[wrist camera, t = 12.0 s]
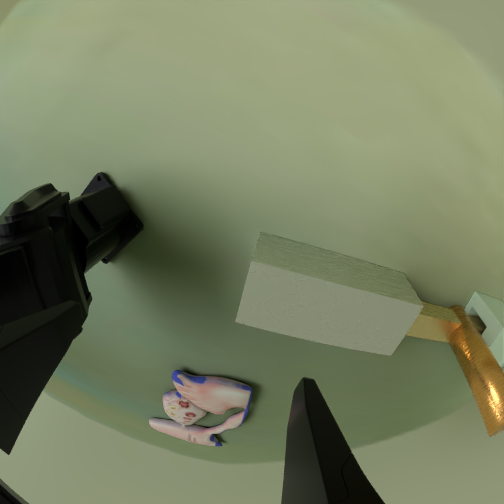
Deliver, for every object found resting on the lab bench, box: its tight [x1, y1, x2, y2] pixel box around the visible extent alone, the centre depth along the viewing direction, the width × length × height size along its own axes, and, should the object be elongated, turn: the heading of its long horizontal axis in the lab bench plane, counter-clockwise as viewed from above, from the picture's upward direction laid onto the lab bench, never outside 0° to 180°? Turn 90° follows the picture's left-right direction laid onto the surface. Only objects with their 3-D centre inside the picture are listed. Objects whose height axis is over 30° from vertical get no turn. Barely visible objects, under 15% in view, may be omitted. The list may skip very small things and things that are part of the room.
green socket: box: [464, 291, 504, 368], centre depth 18 cm, size 6×6×6 cm
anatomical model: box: [149, 370, 252, 446], centre depth 32 cm, size 20×3×15 cm
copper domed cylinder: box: [406, 301, 504, 437], centre depth 15 cm, size 20×3×13 cm, turn 77°
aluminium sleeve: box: [235, 232, 424, 356], centre depth 19 cm, size 12×5×5 cm, turn 77°
